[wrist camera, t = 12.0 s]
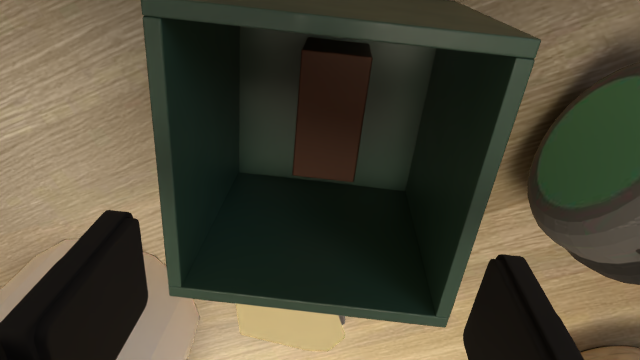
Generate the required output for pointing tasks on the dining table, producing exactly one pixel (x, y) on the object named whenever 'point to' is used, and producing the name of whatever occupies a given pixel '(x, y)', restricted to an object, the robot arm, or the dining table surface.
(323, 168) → the reddish brown block
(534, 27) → the dining table surface
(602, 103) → the headphones
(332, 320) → the stacked layers on plate
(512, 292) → the robot arm
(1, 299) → the container
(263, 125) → the bin
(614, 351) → the vase
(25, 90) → the dining table surface
